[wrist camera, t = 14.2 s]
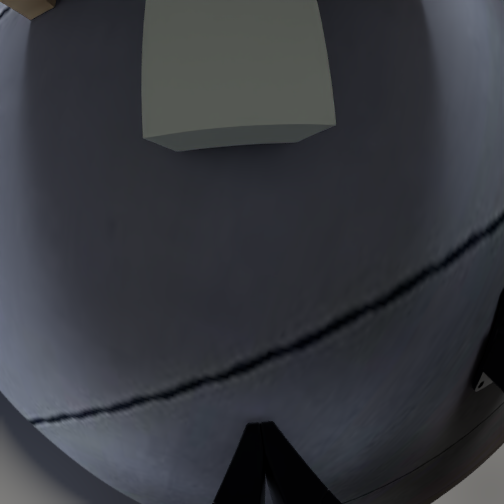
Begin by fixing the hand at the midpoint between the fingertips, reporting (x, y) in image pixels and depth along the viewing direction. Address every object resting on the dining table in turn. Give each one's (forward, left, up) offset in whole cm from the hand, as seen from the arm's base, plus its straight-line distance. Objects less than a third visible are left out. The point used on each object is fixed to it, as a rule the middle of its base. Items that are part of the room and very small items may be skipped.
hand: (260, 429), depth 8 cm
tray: (0, -17, -1) cm, 17 cm away
